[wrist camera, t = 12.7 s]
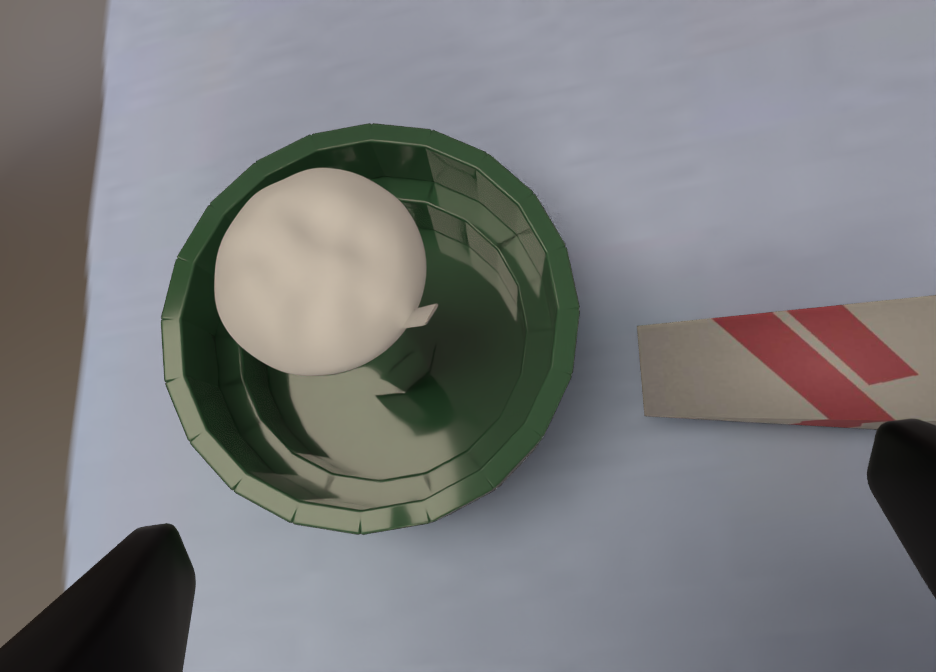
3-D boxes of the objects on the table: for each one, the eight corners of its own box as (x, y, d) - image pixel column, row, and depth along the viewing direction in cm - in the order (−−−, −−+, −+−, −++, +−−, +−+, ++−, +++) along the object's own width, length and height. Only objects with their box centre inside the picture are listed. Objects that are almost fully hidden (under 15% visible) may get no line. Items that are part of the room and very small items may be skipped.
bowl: (393, 599, 21) (357, 633, 16) (170, 356, 23) (79, 320, 18) (632, 346, 22) (667, 305, 17) (400, 140, 24) (373, 53, 19)
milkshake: (430, 456, 21) (363, 427, 11) (293, 372, 22) (121, 280, 12) (502, 335, 22) (497, 210, 12) (366, 259, 23) (259, 86, 13)
